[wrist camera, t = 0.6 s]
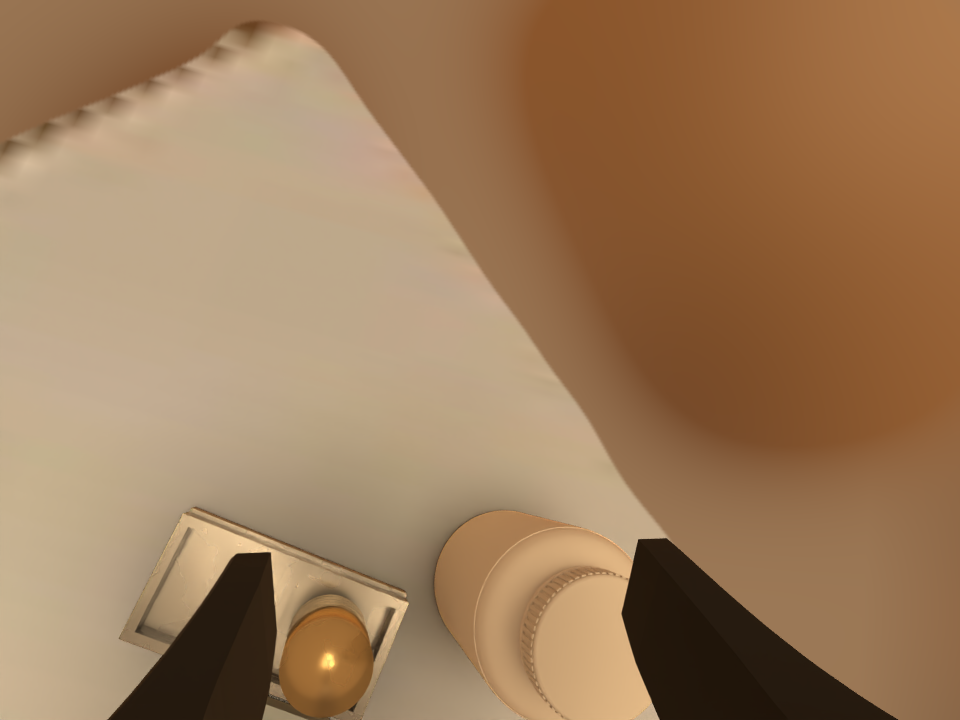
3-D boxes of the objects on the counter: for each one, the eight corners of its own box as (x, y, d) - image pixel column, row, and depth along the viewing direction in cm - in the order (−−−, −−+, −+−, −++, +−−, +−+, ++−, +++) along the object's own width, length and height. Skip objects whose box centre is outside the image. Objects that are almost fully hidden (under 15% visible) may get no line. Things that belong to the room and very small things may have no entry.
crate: (354, 712, 34) (356, 730, 32) (132, 630, 32) (116, 643, 30) (404, 590, 36) (410, 599, 33) (195, 506, 34) (185, 509, 32)
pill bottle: (409, 627, 35) (464, 732, 21) (461, 489, 37) (543, 499, 23) (537, 673, 37) (673, 802, 22) (581, 536, 39) (731, 575, 24)
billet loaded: (346, 686, 33) (350, 730, 28) (274, 659, 33) (262, 699, 27) (378, 610, 34) (388, 638, 29) (308, 582, 34) (304, 605, 28)
